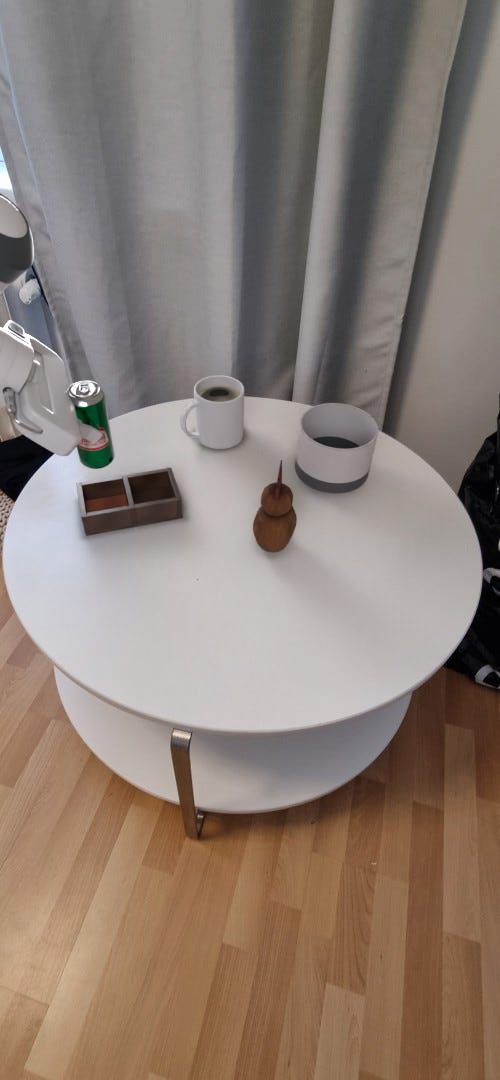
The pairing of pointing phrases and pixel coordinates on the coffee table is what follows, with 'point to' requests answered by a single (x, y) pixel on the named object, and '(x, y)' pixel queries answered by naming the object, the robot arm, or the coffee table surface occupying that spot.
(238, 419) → the mug
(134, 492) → the holder
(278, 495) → the wooden figurine
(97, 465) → the soda can
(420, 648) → the coffee table surface
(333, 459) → the planter
